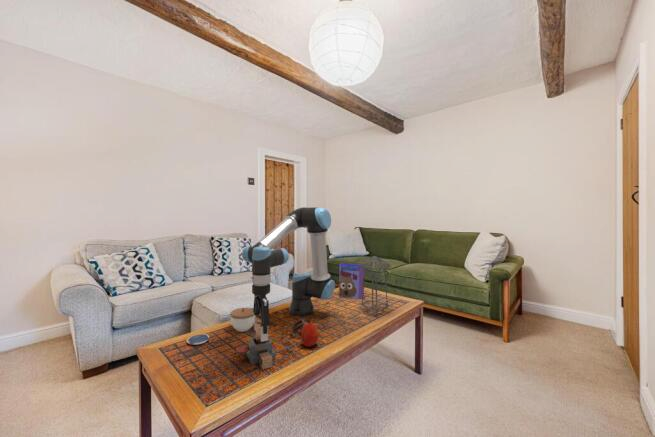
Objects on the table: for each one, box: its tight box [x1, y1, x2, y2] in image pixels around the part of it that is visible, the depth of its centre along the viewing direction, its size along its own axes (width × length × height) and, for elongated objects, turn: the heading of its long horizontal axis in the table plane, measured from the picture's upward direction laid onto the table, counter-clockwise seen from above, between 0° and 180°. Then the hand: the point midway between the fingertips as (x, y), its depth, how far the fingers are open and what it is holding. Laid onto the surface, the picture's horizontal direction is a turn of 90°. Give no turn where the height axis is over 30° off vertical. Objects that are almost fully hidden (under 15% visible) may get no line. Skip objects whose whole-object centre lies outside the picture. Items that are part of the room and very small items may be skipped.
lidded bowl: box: [229, 307, 255, 333], centre depth 145 cm, size 13×13×11 cm
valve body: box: [236, 336, 277, 371], centre depth 118 cm, size 20×15×7 cm
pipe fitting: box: [255, 314, 266, 345], centre depth 118 cm, size 5×5×14 cm
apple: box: [300, 322, 320, 348], centre depth 130 cm, size 8×8×11 cm
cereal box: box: [338, 263, 365, 300], centre depth 200 cm, size 17×5×24 cm, turn 81°
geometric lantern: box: [358, 255, 392, 316], centre depth 172 cm, size 16×16×35 cm
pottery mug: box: [290, 318, 312, 335], centre depth 141 cm, size 12×10×8 cm
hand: (260, 335), depth 118 cm, fingers open, 10 cm apart
